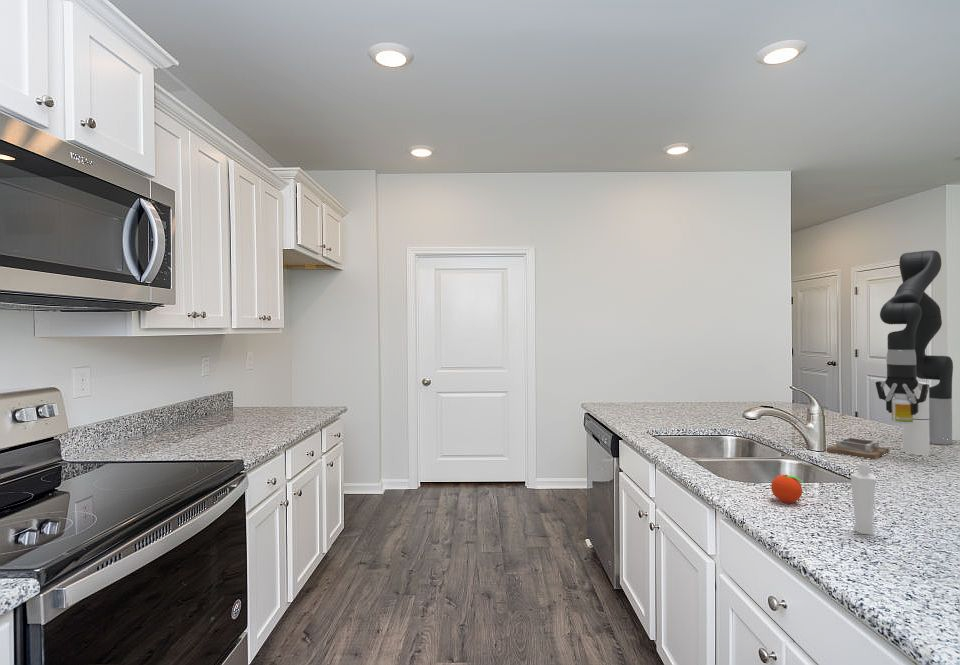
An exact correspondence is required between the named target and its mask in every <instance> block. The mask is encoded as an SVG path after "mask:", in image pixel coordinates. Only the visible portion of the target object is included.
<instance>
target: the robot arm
mask: <svg viewBox="0 0 960 665" xmlns="http://www.w3.org/2000/svg"><path fill="white" fill-rule="evenodd" d="M898 263H899V271H900V276H901V281H902V283H901V284H899V286H898V288H897V290H896V291H895V293H894V296H893V297H891V298H890V299H889V300H888V301H886V302H885V303H883V305H882V307H881V308H880V311H879V317H880V318H879V319H880V320H881V321H882V322H883V323H884V324H887V325H905V327H904V328H903V329H901V330H895V331H890V332H889V333H888V334H887V353H886V379H885V380H880V381H876V382H874V383H875V387H876V391H877V396H878V398H879V399H880V400H884V401H885V408H886V411H887V412H888V413H889V414H892V400H893V399H894V398H895V397H894V393H903V394H907V395H908V397H909V398H910V400H911V401H912V404H911V414H912V415H916V413H918V404H919V403H921V402H924V401H926V397H927V393H928V389H929V442H930V444H932V445H947V446H948V445H952V444H953V375H954V374H953V372H954V362H953V359H952V358H951V357H950V356H949V355H927V354H926V348H927V347H928V345H929V344H930V342H931V341H932V339H933V338H934V337H935V336H936V335H937V333H938V332H939V331H940V330H941V328H942V324H943V320H942V313H941V312H942V311H941V307H940V306H939V304H938V303H937V302H936V301H935V300H934V299H933V298H932V297H931V296H930V295H929V294H927V293H926V290H927V288H928V287H929V285H931V283H932V282H933V281H934V280H935V279H936V277H937V276H938V274H939V273H940V271H941V269H942V257H941V254H940V253H939V251H937V250H922V251H913V252H904V253H903V254H900V258H899V262H898ZM917 378H918V379H921V380H932V381H933V380H935V381H939V382H938V384H935V385H934V386H930V383H929V384H921V383H918V382H919V381H918V379H917ZM886 386H887V387H888V388H889V391H888V393H887V395H886V393H885V387H886ZM917 386H918V387H919V389H920V390H921V394H920V398H919V399H917V397H916V394H915V392H914V389H915V388H916V387H917ZM909 393H910V394H909ZM943 438H944V439H943ZM947 439H948V440H947Z"/></svg>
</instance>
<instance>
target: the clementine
mask: <svg viewBox="0 0 960 665" xmlns="http://www.w3.org/2000/svg"><path fill="white" fill-rule="evenodd" d="M799 481H801V482H802V483H803V484H804V485H805V486H806V488H808V486H807V485H806V483H805V482H804V481H803V480H802V479H800V478H798V477H796V476H794V475H788V474H780V475H778V476H776V477H775V478H774V479H772V481H771V485H770V487H771V488H770V489H771V492H772V494H773V496H774V497H775V498H776V499H777V500H779V502H783V503H787V504H790V503H795V502H797V501H799V500H800V498H801V497H802V495H803V487H802V485H801V483H800V482H799Z"/></svg>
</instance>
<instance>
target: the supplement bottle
mask: <svg viewBox="0 0 960 665" xmlns="http://www.w3.org/2000/svg"><path fill="white" fill-rule="evenodd" d="M911 404H912V401H911V400H909V397H908V395H907V394H903V393H894V397H893V399H892V413H891V421H892V422H893V423H895V424H900V425H901V424H911V423H913V415H912V414H911Z"/></svg>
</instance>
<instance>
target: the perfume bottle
mask: <svg viewBox="0 0 960 665" xmlns="http://www.w3.org/2000/svg"><path fill="white" fill-rule="evenodd" d="M857 465H858V471H857V472H854V473H851V474H850V482H851V491H852V493H851V494H852V501H853V514H854V515H853V516H854V525H853V529H852V530H853V531H855V532H857V533H859V534H863V535H871V536H873V535H875V529H874V526H873V519H874V506H875V492H876V491H875V490H876V476H875V475H874V474H872V473H870V463H865V462H857Z"/></svg>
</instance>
